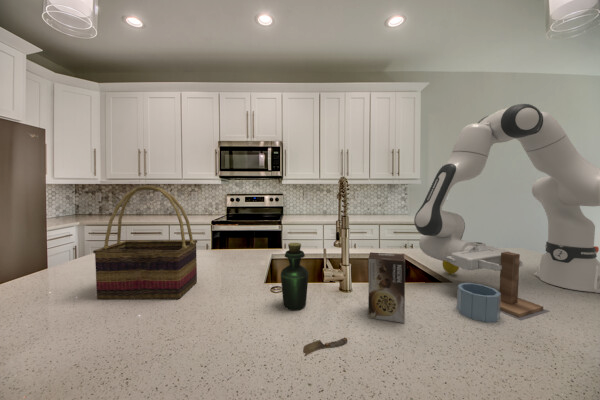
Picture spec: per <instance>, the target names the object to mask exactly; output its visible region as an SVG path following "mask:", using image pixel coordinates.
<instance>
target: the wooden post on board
mask: <svg viewBox="0 0 600 400" xmlns="http://www.w3.org/2000/svg"><path fill="white" fill-rule="evenodd" d="M520 256H521V255H520V253H516V252H512V251H509V252H502V253H501V265H502V270H500V273H499V274H500V275H499V288H498V290H499V291H498V290H497V291H498V292H500V293H501V302H500V310H501V311H504V312H506V313H508V314H511V315H513V316H516V317H518V318H520V317H523V316H526V315H529V314H533V313H536V312H539V311H542V310H543V309H544V306H542V305H539V304H538V303H534V302H532V301H528V300H525V299H522V298H519V281H520V280H519V275H520V267H519V260H521V259H520Z"/></svg>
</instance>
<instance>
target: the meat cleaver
mask: <svg viewBox="0 0 600 400" xmlns="http://www.w3.org/2000/svg"><path fill="white" fill-rule="evenodd" d="M346 344H348V338H347V337H342V338H340V339H338V340H335V341H331V342H326V343H324V344H323V342H322V341H321V340H320V339H318V340H314V341H312V342H310V343H308V344H305V345H304V346H303V350H302V352H303V353H302V354H304V355H303V356H304V357H307V356H308V355H310V354H312V353H314V352H317V351H320V350H325V349H332V348H338V347H341V346H344V345H346Z"/></svg>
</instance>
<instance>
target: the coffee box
mask: <svg viewBox="0 0 600 400" xmlns="http://www.w3.org/2000/svg"><path fill="white" fill-rule="evenodd" d="M367 261H368V298H367V299H368V303H367V305H368V311H367V312H368V314H367V317H368V318H369V319H376V320H382V321H389V322H393V323H394V322H395V323H402V324H405V322H406V321H405V320H406V319H405V316H406V313H405V308H406V304H405V303H406V298H405V296H406V291H405V290H406V287H405V286H406V259H405V256H404V254H397V253H386V252H385V253H384V252H369V254H368V260H367Z"/></svg>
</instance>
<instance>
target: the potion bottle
mask: <svg viewBox="0 0 600 400" xmlns="http://www.w3.org/2000/svg"><path fill="white" fill-rule="evenodd" d="M287 247H288V250H286V251H285V253H284V257H285V258H286V259H287V261H288V263H289V265H287V266H286V267H284V268H283V269H282V270H281V272H280V282H281V292H282V293H281V294H282V305H283V306H284V308H285V309H287V310H290V311H299V310H302V309H304V308H305V307H306V306H307V296H308V295H307V294H308V283H309V274H310V273H309V271H308V269H307V268H306V267H304V266H302V265H301V261H302V259H303V258H305V256H306V255H305V251H303V250H301V247H302V243H301V242H290V243H288V244H287Z"/></svg>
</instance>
